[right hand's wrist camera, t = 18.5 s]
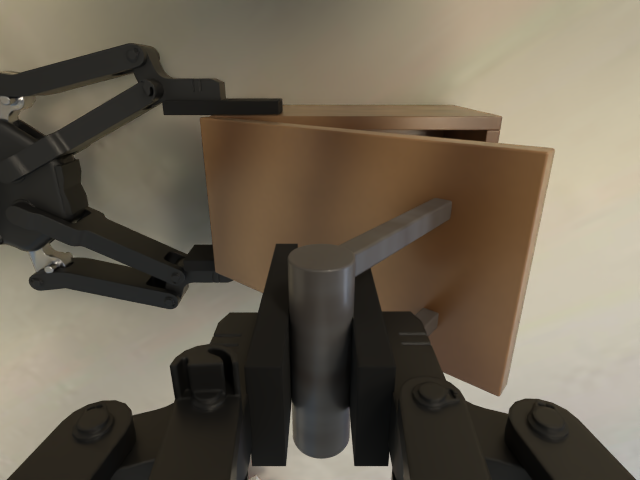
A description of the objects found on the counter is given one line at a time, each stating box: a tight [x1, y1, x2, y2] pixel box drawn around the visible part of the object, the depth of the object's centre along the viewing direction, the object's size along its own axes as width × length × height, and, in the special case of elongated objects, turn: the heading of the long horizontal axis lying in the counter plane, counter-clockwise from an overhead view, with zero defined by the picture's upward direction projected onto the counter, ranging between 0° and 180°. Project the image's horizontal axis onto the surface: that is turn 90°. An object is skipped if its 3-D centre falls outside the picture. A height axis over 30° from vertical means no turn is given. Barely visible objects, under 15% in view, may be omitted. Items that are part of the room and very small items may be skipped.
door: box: [200, 116, 555, 458], centre depth 16 cm, size 17×9×9 cm
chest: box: [209, 105, 502, 143], centre depth 29 cm, size 16×9×9 cm, turn 90°
